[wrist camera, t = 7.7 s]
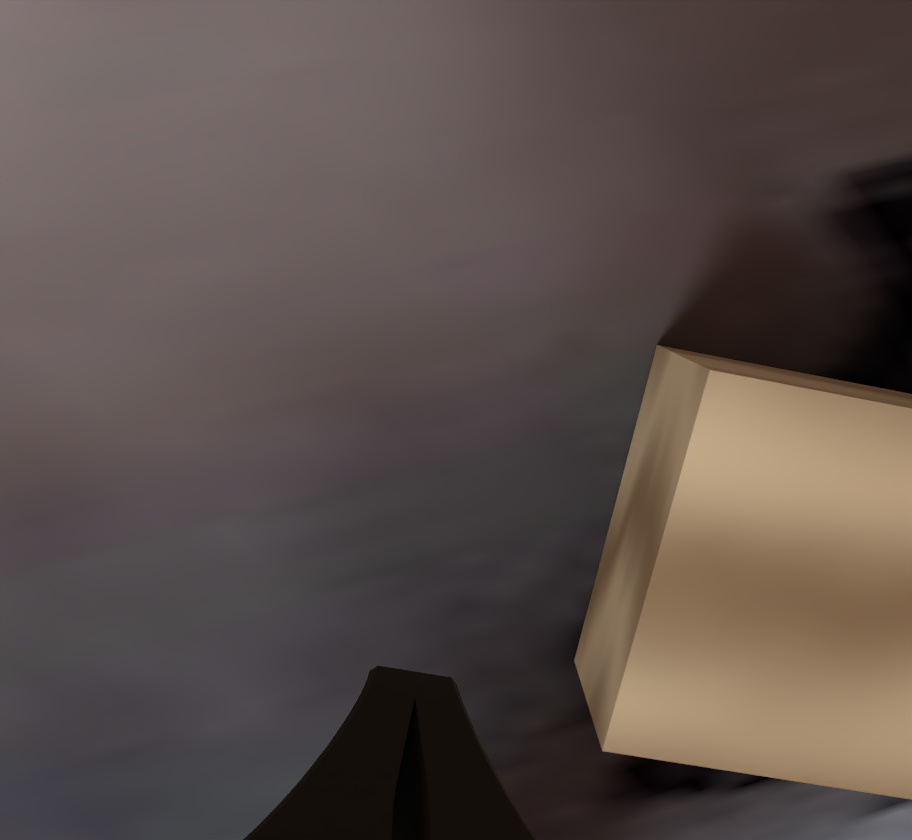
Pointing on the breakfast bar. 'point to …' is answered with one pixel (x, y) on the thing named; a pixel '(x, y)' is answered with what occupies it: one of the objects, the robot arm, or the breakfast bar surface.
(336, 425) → the breakfast bar surface
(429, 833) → the robot arm
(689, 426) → the beige bevelled block
